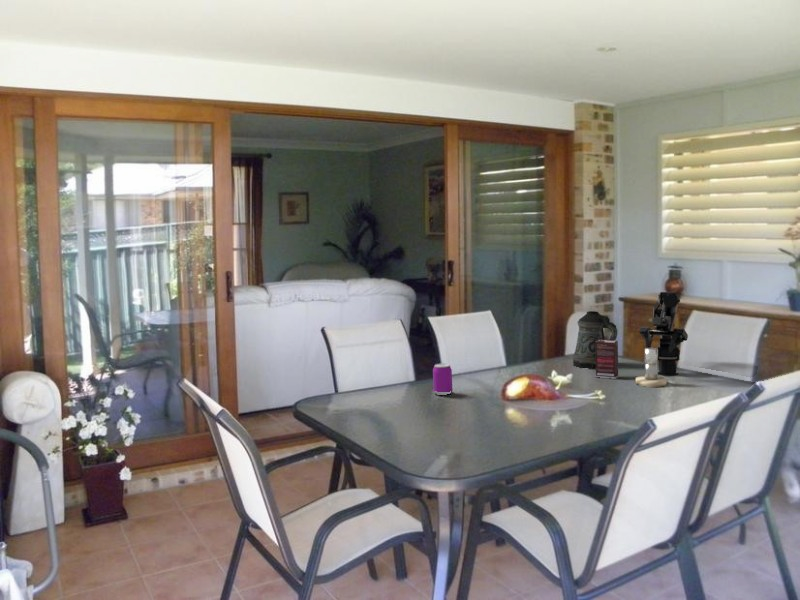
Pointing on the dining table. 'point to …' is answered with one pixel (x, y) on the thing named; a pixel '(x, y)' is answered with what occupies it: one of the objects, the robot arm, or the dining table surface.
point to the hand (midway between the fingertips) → (658, 351)
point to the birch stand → (651, 382)
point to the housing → (651, 363)
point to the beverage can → (442, 377)
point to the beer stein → (591, 338)
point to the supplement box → (606, 359)
